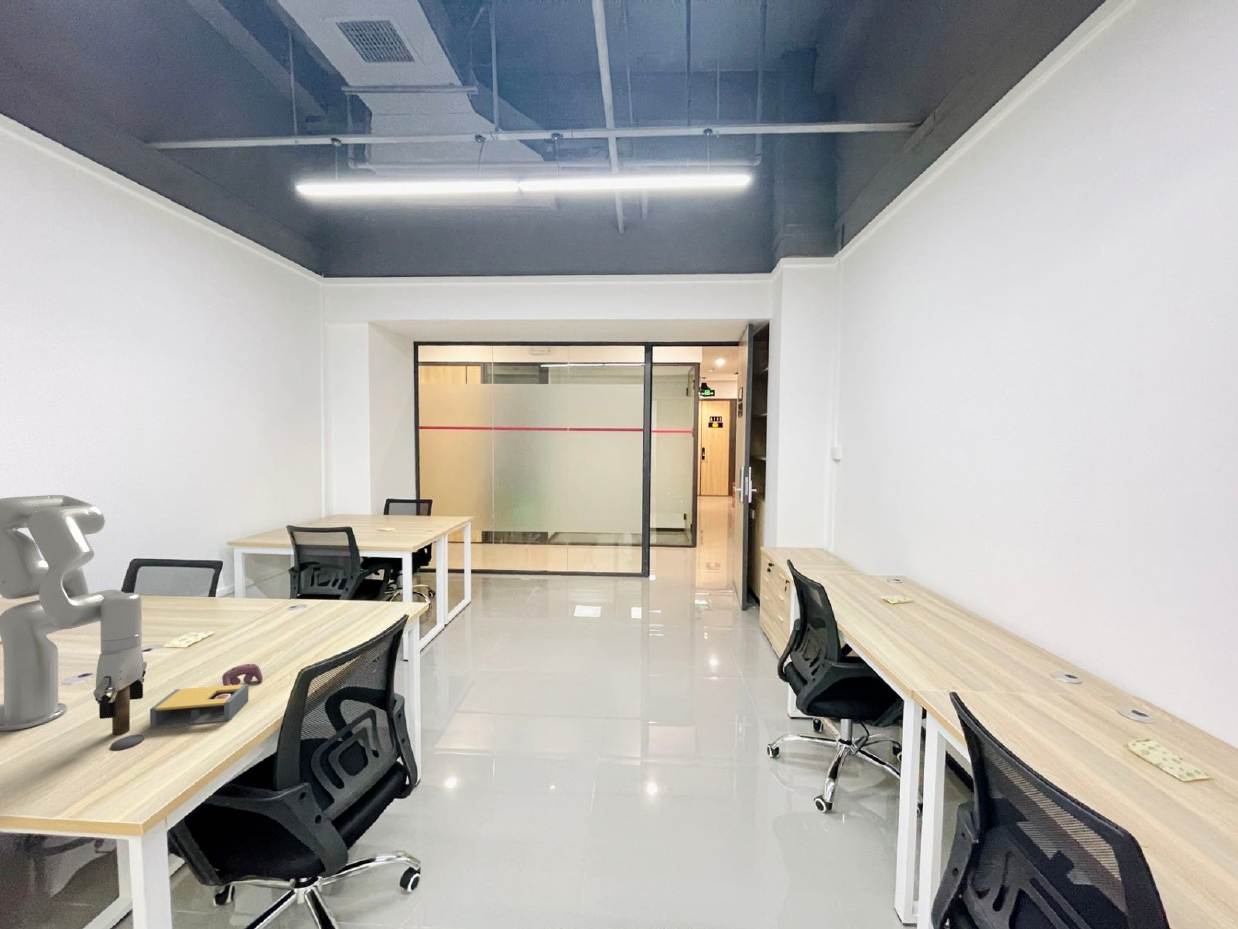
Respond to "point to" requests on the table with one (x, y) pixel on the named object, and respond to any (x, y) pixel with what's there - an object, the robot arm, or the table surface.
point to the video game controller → (247, 669)
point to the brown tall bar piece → (122, 712)
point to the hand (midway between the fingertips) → (122, 708)
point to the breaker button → (223, 696)
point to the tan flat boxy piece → (198, 706)
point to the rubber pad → (127, 742)
